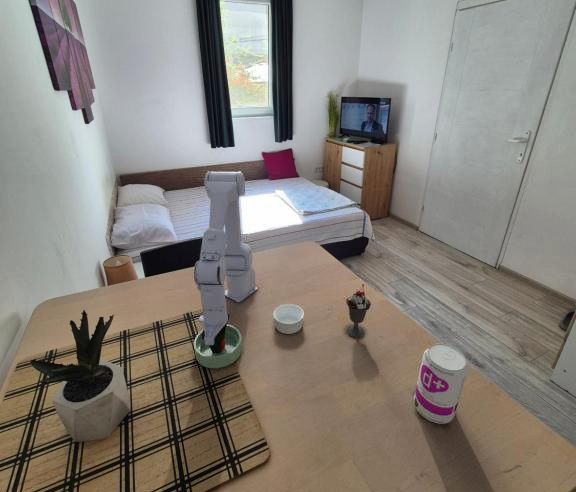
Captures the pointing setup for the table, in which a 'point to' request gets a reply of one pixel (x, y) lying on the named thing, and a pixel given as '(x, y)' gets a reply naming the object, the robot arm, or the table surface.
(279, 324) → the ramekin
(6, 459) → the table surface
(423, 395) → the supplement can
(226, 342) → the bowl
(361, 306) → the sundae
